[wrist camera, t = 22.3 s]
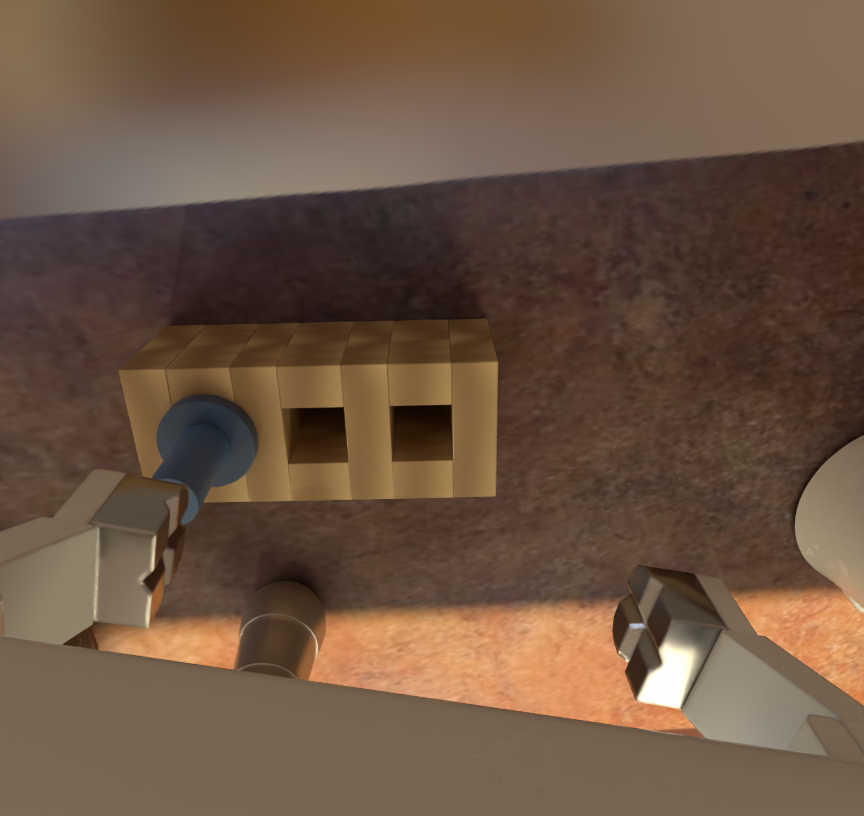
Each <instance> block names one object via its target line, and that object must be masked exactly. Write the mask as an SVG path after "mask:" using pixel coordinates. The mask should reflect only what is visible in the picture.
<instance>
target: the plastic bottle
mask: <svg viewBox="0 0 864 816" xmlns="http://www.w3.org/2000/svg"><path fill="white" fill-rule="evenodd" d="M325 633H326V621H325V610H324V607H323V605H322V603H321V601H320V600H319V598H318V597H317V596H316V595H315V593H314V592H313V591H311V590H310V589H309V588H308V587H306V586H304V585H302V584H300V583H297V582H293V581H277V582H273V583H270V584H268V585H265V586H264V587H262V588H260V589H259V590H258V591H256V592H255V593H254V595H253V596H252V597H251V599H250V600H249V602H248V604H247V605H246V607H245V609H244V611H243V613H242V618H241V624H240V631H239V645H238V649H237V654H236V658H235V663H234V667H233V670H239V671H246V672H253V673H260V674H267V675H274V676H280V677H287V678H294V679H301V680H309V677H310V673H311V670H312V667H313V663H314V660H315V659H316V657H317V655H318V653H319V651H320V648H321V645H322V643H323V640H324V637H325Z"/></svg>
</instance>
